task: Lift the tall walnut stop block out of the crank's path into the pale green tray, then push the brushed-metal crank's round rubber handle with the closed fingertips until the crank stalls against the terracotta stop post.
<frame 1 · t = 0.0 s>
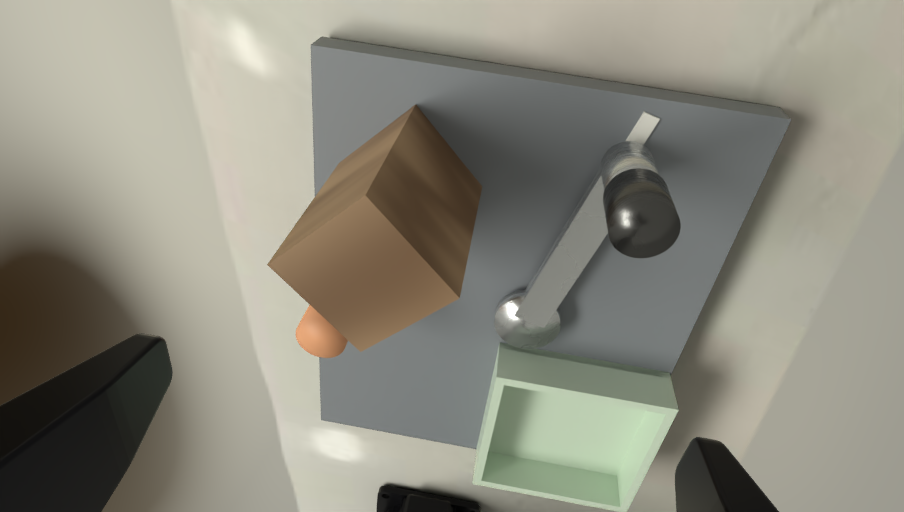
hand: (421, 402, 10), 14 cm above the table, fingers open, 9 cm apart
plate: (528, 294, 26), on the table
tray: (564, 413, 28), resting on plate
crank: (571, 285, 21), point 4 cm above the table, hinge at -15.0°
stop block: (410, 174, 22), point 1 cm above the table, touching plate
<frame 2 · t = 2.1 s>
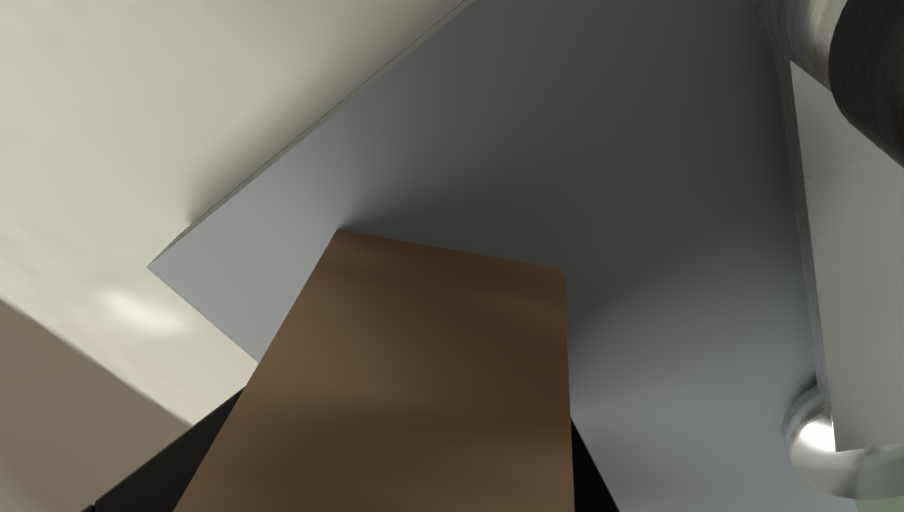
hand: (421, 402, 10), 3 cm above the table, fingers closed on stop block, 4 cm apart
plate: (831, 365, 12), on the table
stop block: (437, 334, 11), point 1 cm above the table, touching gripper, plate
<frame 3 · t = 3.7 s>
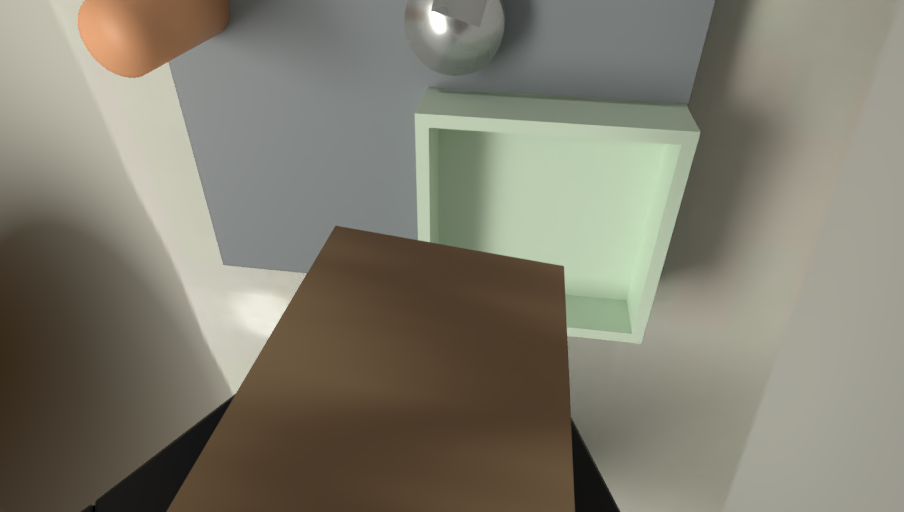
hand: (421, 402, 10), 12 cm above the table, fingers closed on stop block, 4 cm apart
plate: (462, 8, 18), on the table
tray: (540, 205, 20), resting on plate
stop block: (436, 331, 11), point 11 cm above the table, touching gripper
when the fingers open (4 cm above the table, at t = 5.5 s): stop block drops 1 cm, resting on tray.
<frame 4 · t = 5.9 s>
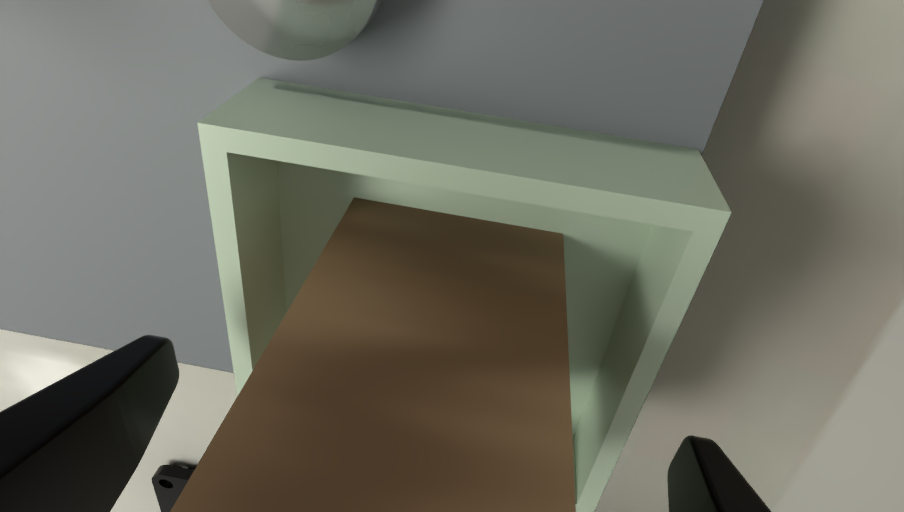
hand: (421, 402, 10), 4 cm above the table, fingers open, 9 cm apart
tray: (449, 286, 12), resting on plate
stop block: (445, 297, 12), point 2 cm above the table, touching tray
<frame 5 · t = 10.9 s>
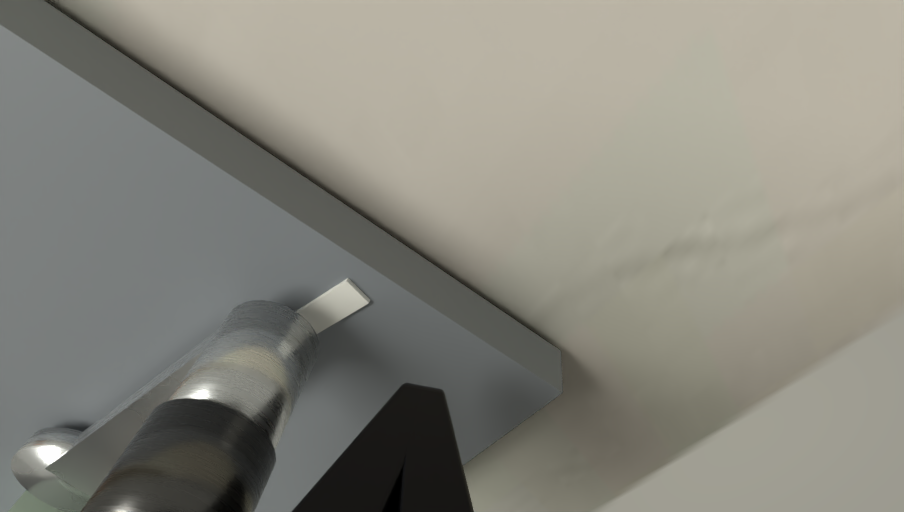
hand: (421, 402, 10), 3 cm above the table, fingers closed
plate: (120, 417, 16), on the table
crank: (96, 504, 11), point 4 cm above the table, hinge at -12.6°, touching gripper
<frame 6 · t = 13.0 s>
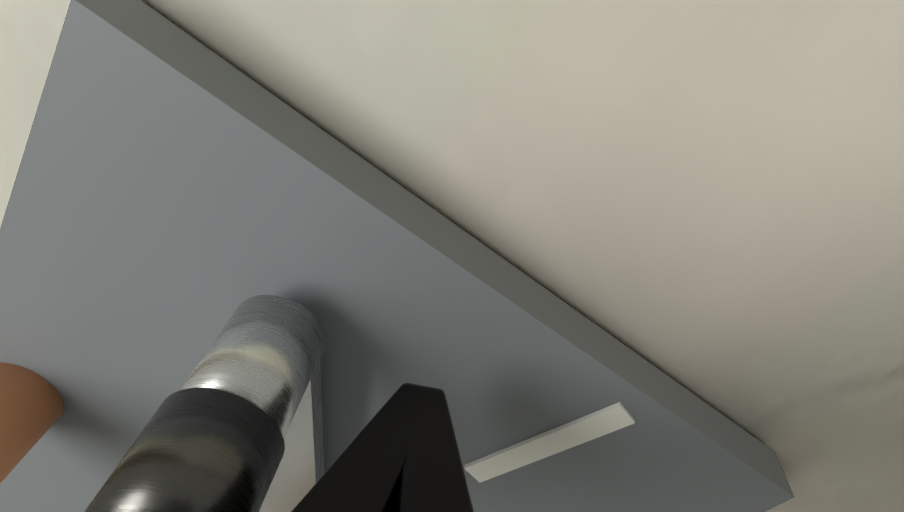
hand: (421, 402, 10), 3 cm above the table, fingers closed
plate: (319, 499, 17), on the table
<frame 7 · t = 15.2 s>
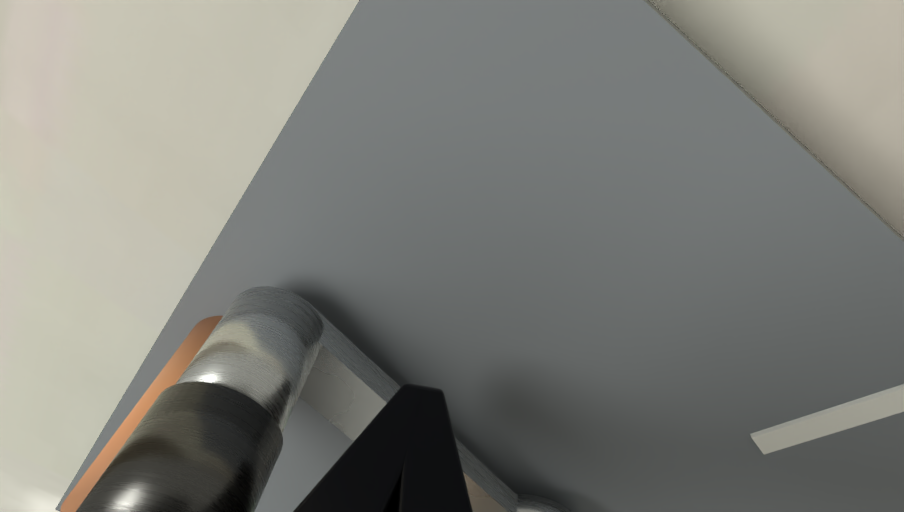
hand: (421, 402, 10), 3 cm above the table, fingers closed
plate: (523, 474, 15), on the table
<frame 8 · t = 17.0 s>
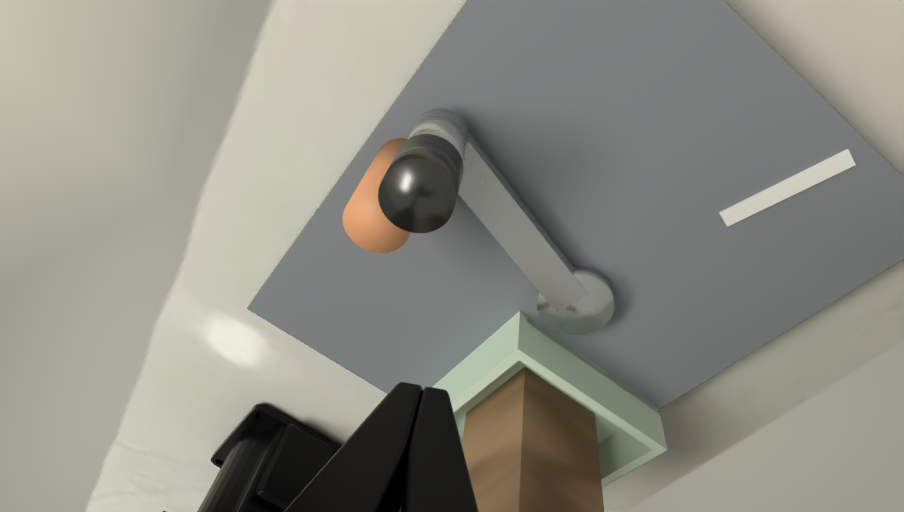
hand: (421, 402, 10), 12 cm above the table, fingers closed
plate: (572, 273, 23), on the table
tray: (529, 406, 26), resting on plate
crank: (513, 261, 18), point 4 cm above the table, hinge at 75.1°, touching plate
stop block: (529, 413, 25), point 2 cm above the table, touching tray
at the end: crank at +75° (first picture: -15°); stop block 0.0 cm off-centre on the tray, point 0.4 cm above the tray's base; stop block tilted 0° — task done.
